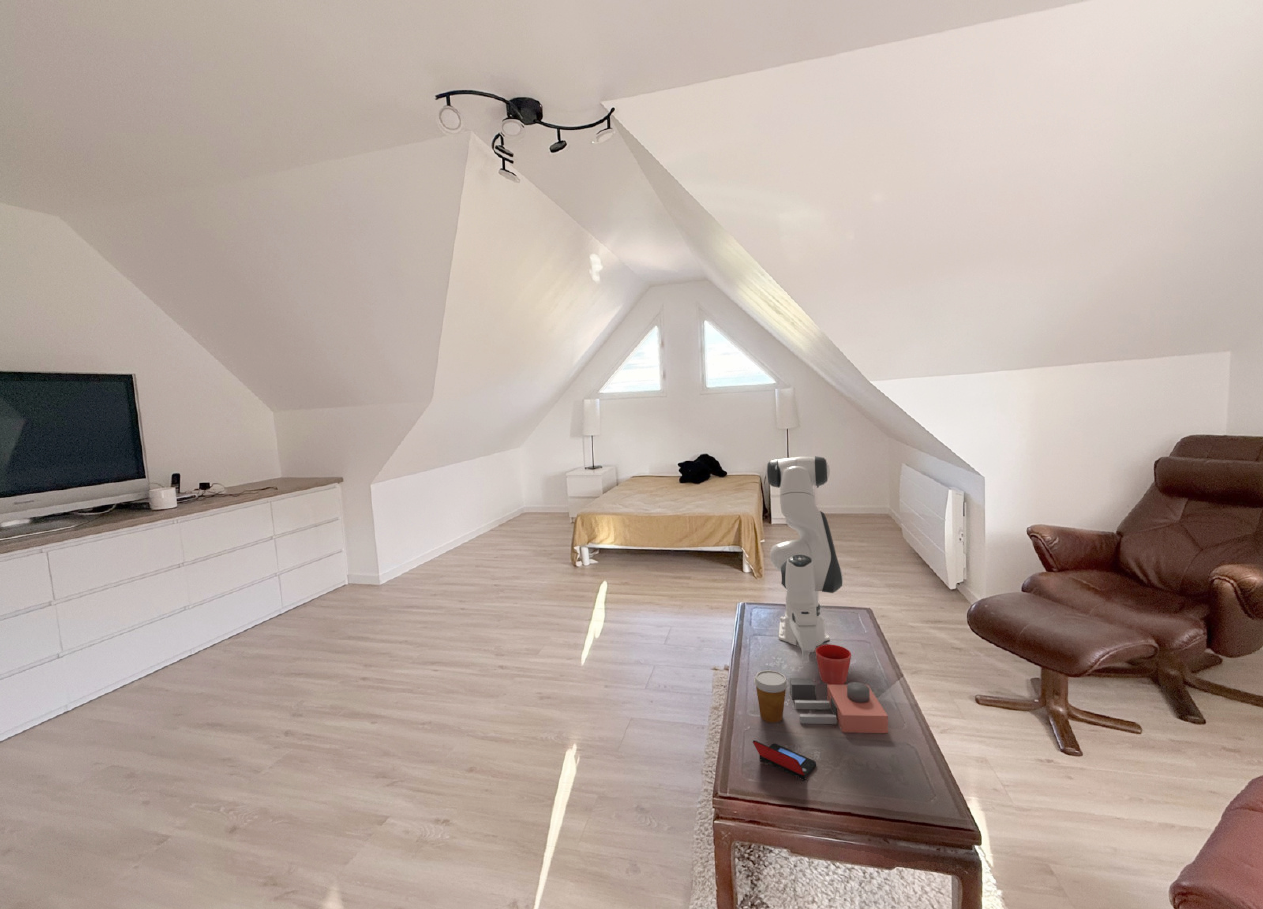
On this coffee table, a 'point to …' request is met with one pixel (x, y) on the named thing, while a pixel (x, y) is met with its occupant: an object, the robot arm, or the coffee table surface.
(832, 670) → the flower pot
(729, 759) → the coffee table surface
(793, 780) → the coffee table surface
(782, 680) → the disposable coffee cup
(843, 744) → the coffee table surface
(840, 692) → the pink block with rods
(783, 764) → the handheld game console
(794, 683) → the tall grey rectangular block
